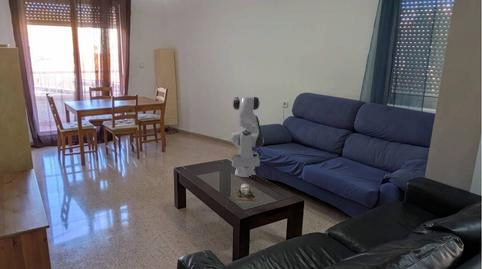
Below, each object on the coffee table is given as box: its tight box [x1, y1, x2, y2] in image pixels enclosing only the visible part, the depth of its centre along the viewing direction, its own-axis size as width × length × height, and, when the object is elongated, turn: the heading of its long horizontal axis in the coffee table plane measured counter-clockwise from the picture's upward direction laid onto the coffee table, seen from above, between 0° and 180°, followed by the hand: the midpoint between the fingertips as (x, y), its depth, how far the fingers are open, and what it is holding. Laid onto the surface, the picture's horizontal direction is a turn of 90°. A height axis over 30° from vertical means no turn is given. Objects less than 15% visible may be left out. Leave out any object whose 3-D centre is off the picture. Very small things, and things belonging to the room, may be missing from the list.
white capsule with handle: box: [240, 183, 250, 196], centre depth 250 cm, size 10×6×7 cm, turn 10°
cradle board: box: [232, 188, 260, 204], centre depth 249 cm, size 22×16×3 cm
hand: (245, 172), depth 244 cm, fingers open, 8 cm apart
